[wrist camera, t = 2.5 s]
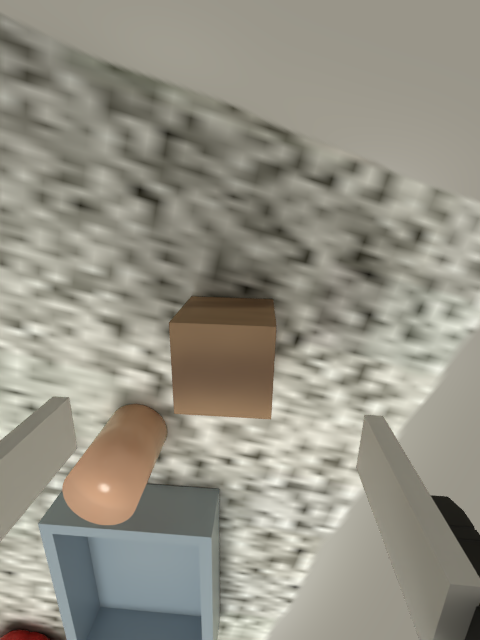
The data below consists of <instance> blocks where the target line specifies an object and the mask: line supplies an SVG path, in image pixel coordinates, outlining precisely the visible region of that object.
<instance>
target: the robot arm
mask: <svg viewBox="0 0 480 640" xmlns="http://www.w3.org/2000/svg"><path fill="white" fill-rule="evenodd" d="M76 449H77V442H76V436H75V430H74V424H73V418H72V411H71V405H70V399H69V397H52V398H51V399H49V400H48V401H47V402H46V403H45V404H44V405H42V406H41V407H40V408H39V409H38V410H36V411H35V412H34V413H33V414H32V415H30V416H29V417H28V418H27V419H26V420H24V421H23V422H22V423H21V424H20V425H18V426H17V427H16V428H15V429H14V430H12V431H11V432H10V433H9V434H8V435H6V436H5V437H4V438H3V439H2V440H0V542H1V540H2V539H3V538H4V537H5V536H6V534H7V533H8V532H9V531H10V529H11V528H12V527H13V526H14V525H15V523H16V522H17V521H18V520H19V518H20V517H21V516H22V515H23V514H24V512H25V511H26V510H27V509H28V508H29V506H30V505H31V504H32V503H33V501H34V500H35V499H36V498H37V497H38V495H39V494H40V493H41V492H42V490H43V489H44V488H45V487H46V486H47V484H48V483H49V482H50V481H51V479H52V478H53V477H54V476H55V475H56V473H57V472H58V471H59V470H60V469H61V467H62V466H63V465H64V464H65V462H66V461H67V460H68V459H69V458H70V456H71V455H72V454H73V453H74V451H75V450H76ZM356 468H357V471H358V473H359V476H360V479H361V482H362V484H363V487H364V490H365V493H366V495H367V498H368V501H369V503H370V506H371V509H372V512H373V514H374V517H375V520H376V523H377V525H378V528H379V531H380V533H381V536H382V539H383V542H384V544H385V547H386V550H387V553H388V555H389V558H390V561H391V564H392V566H393V569H394V572H395V575H396V577H397V580H398V583H399V585H400V588H401V591H402V594H403V596H404V599H405V602H406V604H407V607H408V610H409V613H410V616H411V618H412V621H413V624H414V627H415V629H416V632H417V635H418V637H419V640H480V535H479V533H478V532H477V530H475V529H474V526H473V524H472V523H471V521H470V520H469V518H468V517H467V515H466V514H465V512H464V511H463V510H462V509H461V508H460V507H458V506H457V505H456V504H455V503H454V502H453V501H452V500H451V499H450V498H448V497H444V496H431V495H430V494H429V492H428V491H427V489H426V487H425V486H424V484H423V482H422V480H421V479H420V477H419V475H418V474H417V472H416V470H415V469H414V467H413V466H412V464H411V462H410V460H409V459H408V457H407V455H406V454H405V452H404V450H403V449H402V447H401V445H400V444H399V442H398V440H397V439H396V437H395V435H394V434H393V432H392V430H391V428H390V427H389V425H388V423H387V422H386V420H385V418H384V417H383V416H374V415H365V416H364V422H363V428H362V435H361V441H360V447H359V454H358V460H357V466H356Z"/></svg>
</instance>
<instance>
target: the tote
mask: <svg viewBox="0 0 480 640" xmlns="http://www.w3.org/2000/svg"><path fill="white" fill-rule="evenodd" d="M38 525H39V529H40V533H41V537H42V541H43V545H44V549H45V553H46V557H47V561H48V565H49V569H50V573H51V578H52V582H53V586H54V590H55V594H56V598H57V602H58V606H59V610H60V614H61V618H62V622H63V626H64V630H65V634H66V638H67V640H217V639H218V629H219V620H220V553H219V489H212V488H198V487H183V486H169V485H155V484H146V486H145V489H144V491H143V493H142V496H141V498H140V500H139V503H138V505H137V507H136V510H135V512H134V513H133V515H132V516H131V517H130V518H129V519H128V520H126V521H124V522H122V523H120V524H116V525H99V524H95V523H92V522H89V521H87V520H84V519H83V518H81V517H79V516H78V515H77V514H75V513H74V512H73V511H72V510H71V509H70V508H69V506H68V505H67V503H66V501H65V499H64V496H63V491H62V492H61V493H60V494H59V496H58V497H57V498H56V500H55V501H54V503H53V504H52V505H51V507H50V508H49V509H48V511H47V512H46V514H45V515H44V516H43V518H42V519H41V521H40V522H39V523H38Z"/></svg>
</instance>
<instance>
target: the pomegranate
mask: <svg viewBox="0 0 480 640" xmlns="http://www.w3.org/2000/svg"><path fill="white" fill-rule="evenodd" d="M0 640H50V639H49V638H47V637H46V636H45V635H43V634H41V633H38V632H30V631H27V630H14V631H10V632H9V633H8V634H6V635H4V636H3V637H1V638H0Z"/></svg>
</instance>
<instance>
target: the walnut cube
mask: <svg viewBox="0 0 480 640" xmlns="http://www.w3.org/2000/svg"><path fill="white" fill-rule="evenodd" d="M169 331H170V348H171V366H172V383H173V400H174V414H189V415H206V416H224V417H241V418H259V419H271V411H272V394H273V376H274V359H275V341H276V319H275V311H274V302H273V299H254V298H225V297H196V296H191V298H190V299H189V300H188V301H187V302H186V303H185V305H184V306H183V307H182V308H181V309H180V310H179V312H178V313H177V314H176V315H175V316H174V317H173V319H172V320H171V321H170V322H169Z"/></svg>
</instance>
